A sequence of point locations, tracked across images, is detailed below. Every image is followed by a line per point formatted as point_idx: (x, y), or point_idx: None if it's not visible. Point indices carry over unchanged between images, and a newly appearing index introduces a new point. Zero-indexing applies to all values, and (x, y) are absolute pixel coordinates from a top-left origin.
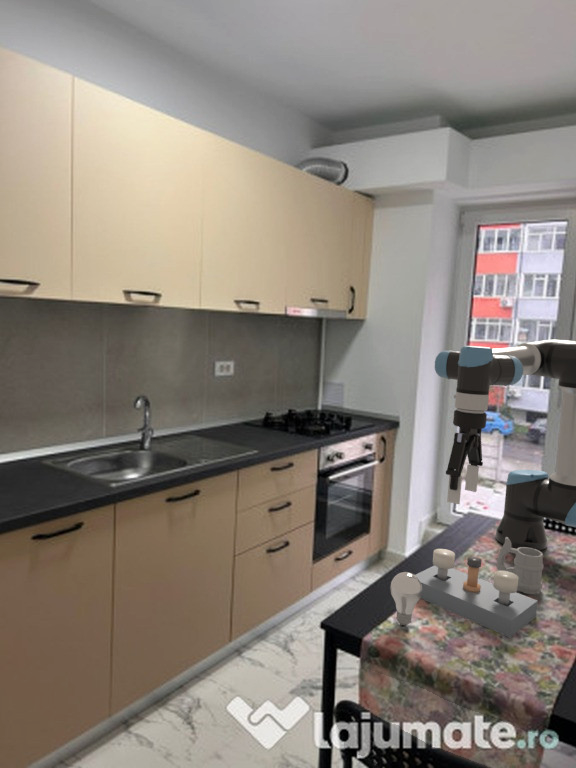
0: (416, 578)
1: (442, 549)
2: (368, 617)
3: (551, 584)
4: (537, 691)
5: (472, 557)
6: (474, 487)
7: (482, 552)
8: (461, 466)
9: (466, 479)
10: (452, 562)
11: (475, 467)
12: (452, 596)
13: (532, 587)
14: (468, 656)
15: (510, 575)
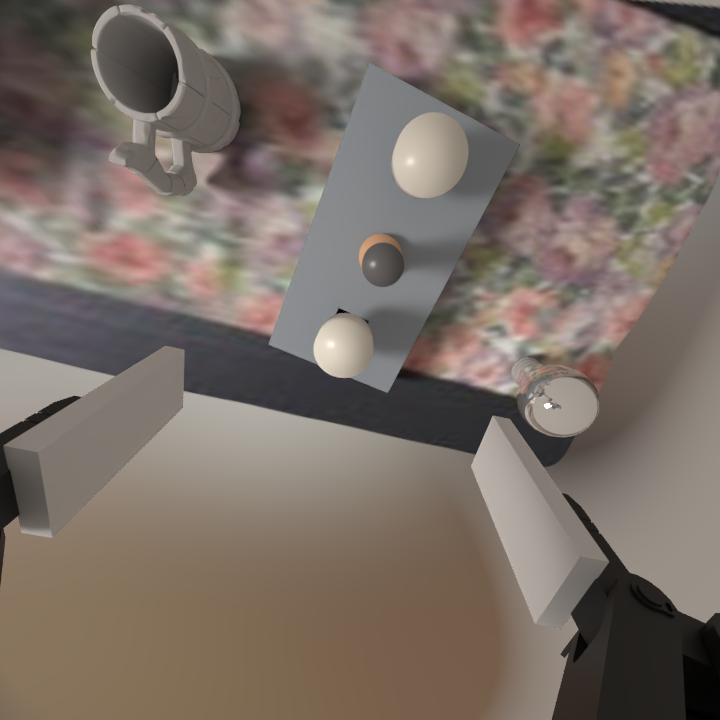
0: (579, 396)
1: (320, 357)
2: (513, 421)
3: None
4: (711, 87)
5: (370, 272)
6: (169, 369)
7: (42, 241)
8: (683, 691)
9: (142, 443)
10: (359, 321)
11: (52, 466)
12: (438, 296)
13: (231, 83)
14: (604, 239)
15: (425, 141)
